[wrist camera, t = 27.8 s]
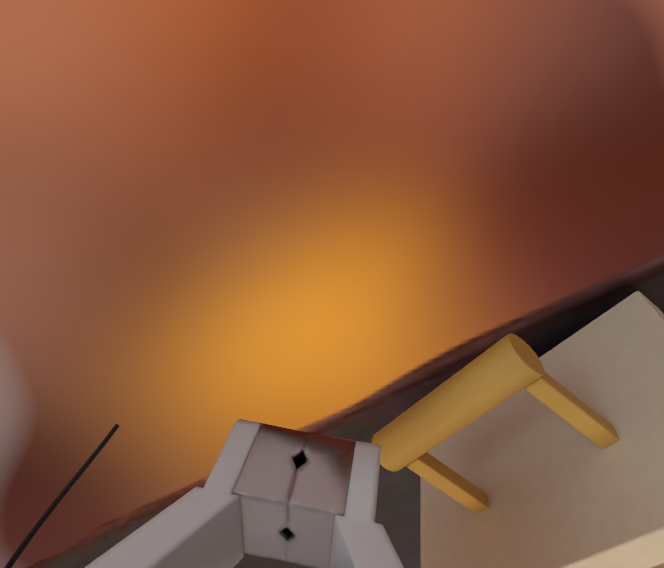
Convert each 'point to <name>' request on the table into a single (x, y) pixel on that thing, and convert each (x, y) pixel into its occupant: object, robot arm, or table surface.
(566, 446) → the drawer
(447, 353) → the table surface
